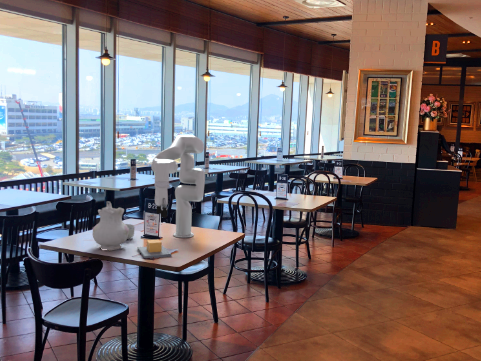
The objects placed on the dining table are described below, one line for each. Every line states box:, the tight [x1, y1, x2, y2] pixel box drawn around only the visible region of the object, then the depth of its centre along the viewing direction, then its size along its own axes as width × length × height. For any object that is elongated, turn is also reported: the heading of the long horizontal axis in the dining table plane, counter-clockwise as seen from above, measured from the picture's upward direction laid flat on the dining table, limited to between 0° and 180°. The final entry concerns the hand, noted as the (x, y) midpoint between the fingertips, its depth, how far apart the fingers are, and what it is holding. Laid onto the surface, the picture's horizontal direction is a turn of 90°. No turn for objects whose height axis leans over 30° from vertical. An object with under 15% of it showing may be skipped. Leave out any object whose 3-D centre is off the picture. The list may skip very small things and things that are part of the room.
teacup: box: [124, 223, 136, 241], centre depth 279 cm, size 14×11×8 cm
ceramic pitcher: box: [92, 201, 129, 251], centre depth 259 cm, size 22×20×25 cm
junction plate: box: [136, 245, 172, 259], centre depth 251 cm, size 18×14×5 cm
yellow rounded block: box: [146, 239, 163, 253], centre depth 251 cm, size 6×6×5 cm
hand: (161, 215), depth 254 cm, fingers open, 9 cm apart
